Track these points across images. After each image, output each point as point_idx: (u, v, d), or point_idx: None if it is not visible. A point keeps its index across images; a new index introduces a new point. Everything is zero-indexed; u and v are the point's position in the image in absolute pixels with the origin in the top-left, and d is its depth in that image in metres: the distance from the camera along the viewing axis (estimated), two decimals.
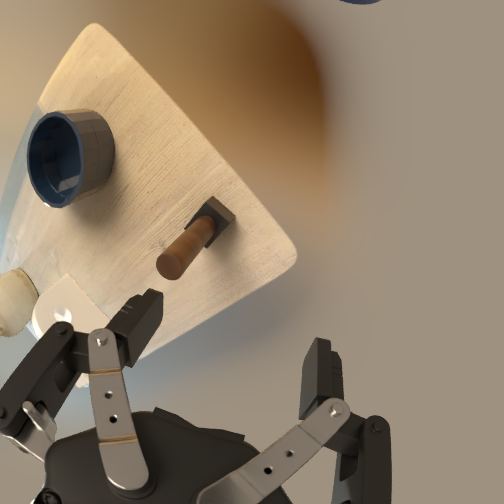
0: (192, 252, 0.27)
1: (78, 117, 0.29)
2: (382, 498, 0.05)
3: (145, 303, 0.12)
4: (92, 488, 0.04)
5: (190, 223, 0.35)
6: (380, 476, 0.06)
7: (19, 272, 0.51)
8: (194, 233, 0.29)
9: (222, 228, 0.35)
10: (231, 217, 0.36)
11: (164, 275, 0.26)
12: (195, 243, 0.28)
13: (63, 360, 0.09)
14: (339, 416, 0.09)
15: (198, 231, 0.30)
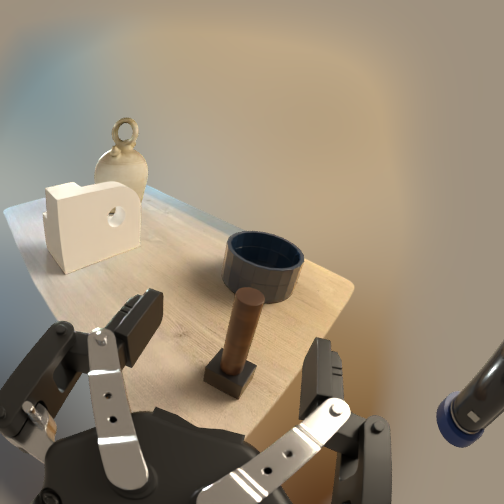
0: (251, 326, 0.26)
1: (299, 271, 0.50)
2: (381, 498, 0.05)
3: (145, 303, 0.12)
4: (92, 488, 0.04)
5: None
6: (380, 476, 0.06)
7: None
8: (252, 338, 0.28)
9: (234, 380, 0.29)
10: (241, 392, 0.30)
11: (239, 291, 0.26)
12: (252, 334, 0.27)
13: (63, 360, 0.09)
14: (339, 416, 0.09)
15: (250, 345, 0.29)
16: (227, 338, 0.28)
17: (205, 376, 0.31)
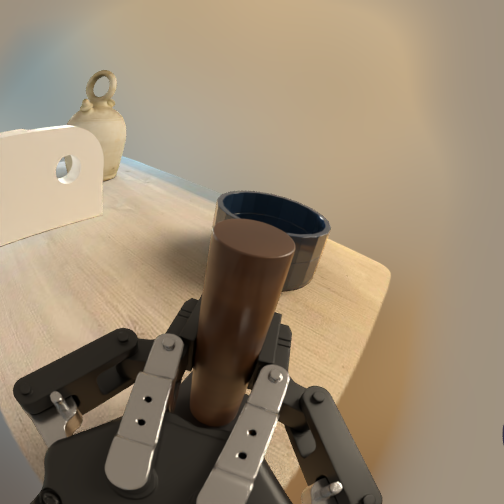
0: (257, 325, 0.09)
1: (324, 244, 0.33)
2: (354, 463, 0.07)
3: None
4: (79, 493, 0.04)
5: None
6: (342, 444, 0.07)
7: (113, 173, 0.55)
8: None
9: None
10: None
11: (223, 224, 0.09)
12: (258, 346, 0.10)
13: (117, 366, 0.10)
14: (277, 382, 0.10)
15: None
16: (196, 354, 0.11)
17: None
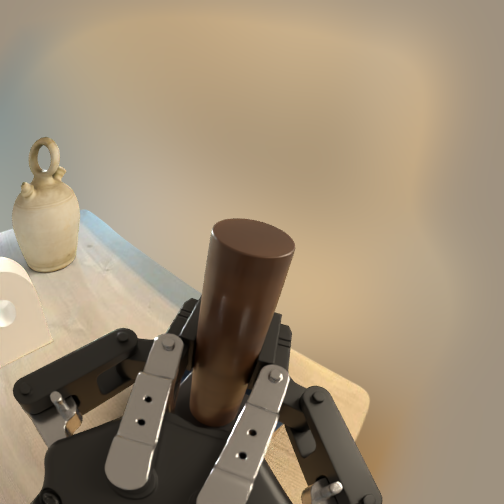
0: (257, 325, 0.09)
1: None
2: (355, 463, 0.07)
3: None
4: (79, 493, 0.04)
5: None
6: (343, 444, 0.07)
7: (70, 258, 0.47)
8: None
9: None
10: None
11: (223, 224, 0.09)
12: (257, 346, 0.10)
13: (117, 366, 0.10)
14: (277, 382, 0.10)
15: None
16: (196, 354, 0.11)
17: None
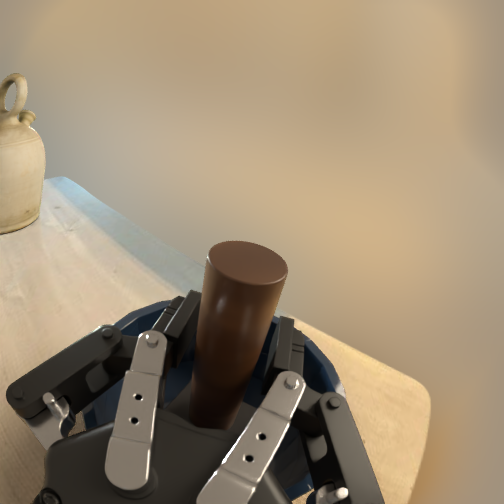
0: (251, 343, 0.10)
1: None
2: (362, 471, 0.06)
3: (190, 304, 0.13)
4: (83, 492, 0.04)
5: None
6: (353, 451, 0.07)
7: (30, 217, 0.33)
8: (254, 368, 0.12)
9: None
10: None
11: (218, 249, 0.10)
12: (253, 362, 0.11)
13: (103, 362, 0.10)
14: (293, 388, 0.10)
15: None
16: (194, 367, 0.11)
17: None
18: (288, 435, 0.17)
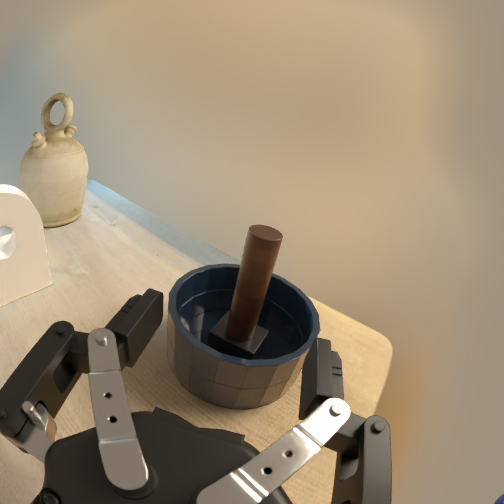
0: (267, 270, 0.23)
1: None
2: (381, 498, 0.05)
3: (145, 303, 0.12)
4: (92, 488, 0.04)
5: None
6: (380, 476, 0.06)
7: (76, 214, 0.46)
8: None
9: (243, 347, 0.25)
10: None
11: (252, 227, 0.22)
12: (267, 283, 0.23)
13: (63, 360, 0.09)
14: (339, 416, 0.09)
15: None
16: (236, 290, 0.24)
17: (208, 344, 0.27)
18: (286, 354, 0.30)
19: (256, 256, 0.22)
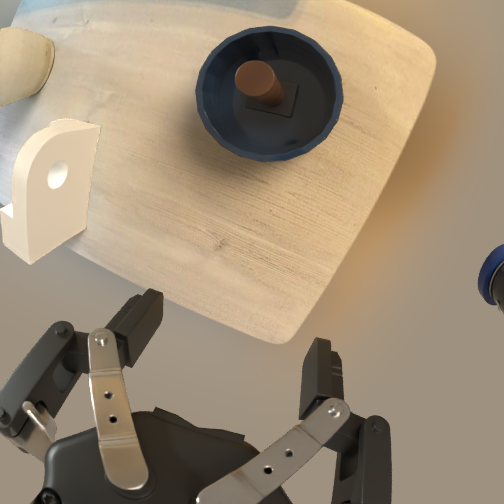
0: (272, 95, 0.19)
1: None
2: (381, 498, 0.05)
3: (145, 303, 0.12)
4: (92, 488, 0.04)
5: None
6: (380, 476, 0.06)
7: (50, 50, 0.27)
8: (280, 87, 0.21)
9: (279, 112, 0.27)
10: (291, 115, 0.28)
11: (238, 77, 0.17)
12: (277, 93, 0.20)
13: (63, 360, 0.09)
14: (339, 416, 0.09)
15: (281, 91, 0.22)
16: None
17: (250, 108, 0.29)
18: (322, 87, 0.27)
19: (256, 98, 0.19)
